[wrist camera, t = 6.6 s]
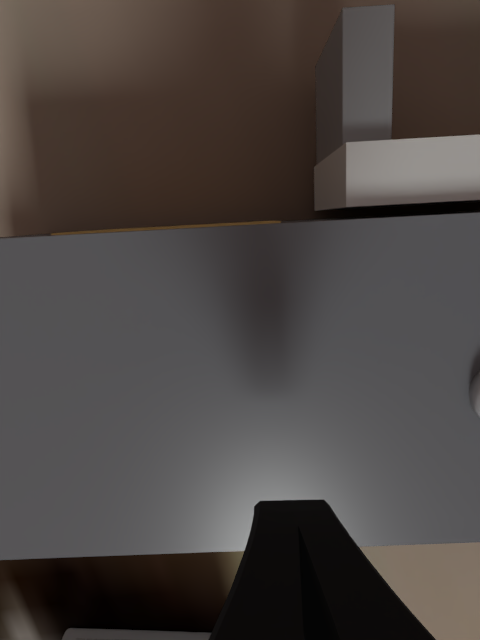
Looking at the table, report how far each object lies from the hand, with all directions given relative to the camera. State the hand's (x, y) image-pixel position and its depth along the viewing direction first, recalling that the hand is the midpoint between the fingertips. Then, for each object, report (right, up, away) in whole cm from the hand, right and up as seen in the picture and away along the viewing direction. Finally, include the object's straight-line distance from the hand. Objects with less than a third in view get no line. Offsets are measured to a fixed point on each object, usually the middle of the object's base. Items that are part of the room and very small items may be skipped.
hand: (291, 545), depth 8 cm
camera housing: (+1, +4, +9) cm, 10 cm away
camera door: (+6, +11, +7) cm, 14 cm away
